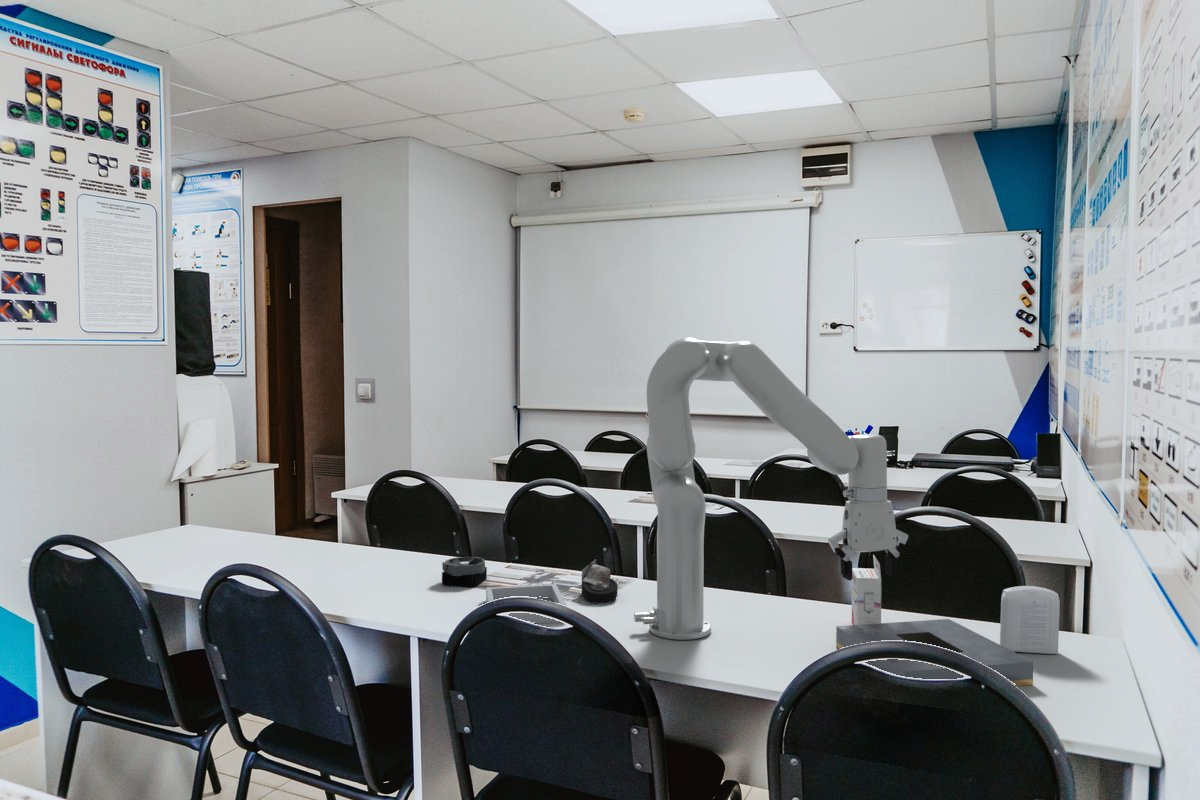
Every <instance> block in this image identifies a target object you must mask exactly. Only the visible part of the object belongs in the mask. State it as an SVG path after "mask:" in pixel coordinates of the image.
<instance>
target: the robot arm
mask: <svg viewBox="0 0 1200 800" xmlns="http://www.w3.org/2000/svg"><path fill="white" fill-rule="evenodd" d="M696 380H697V381H709V382H710V381H711V382H712V381H713V382H733V383H734V384H735V385H736V386H737V388H738V389H740V390H741V391H742V392H743V393H744V394H745V395H746V396H747V398H748V399H750V401H751V402H752V403H753V404H754V405H755V406H756V407H757V408H758V409H759V410H760V411H761V412H762V413H763V414H764V415H765V416H766V417H767V418H768V419H769V420H770V421H771V422H772V423H773V424H775V425H776V426H778V427H780V428H782V429H783V430H785V431H786V432H788V433H789V434H790V435H791V436H793V437H794V438H796V439H797V440H798V442H800V443H801V444H803V446H804V447H805V448H806V452H807V453H806V454H807V458H808V459H809V461H810V462H811V464H812V465H813V466H815V467H816V468H818V469H820V470H822V471H825V472H828V473H830V474H832V475H836V476H843V475H844V476H845V475H846V474H848V485H847V489H846V490H843V492H842V495H843V497H844V498H847V499H848V500H846V501H845V504H844V505H845V506H844V510H843V517H842V530H841V531H839V532H837V533H836V534H834V535H832V536H831V537H830V538H828V540H827V542H828V543H829V546H830V548H831V550H832V552H833V553H834V554H835V555H836V556H837V557H838V558H839V559H840V575H841V577H842V578H843V579H845V580H846V581H852V568H853V561H852V560H850V559H851V558H852V557H853V555H854V554H855V552H856V553H869V552H883V551H885V553H886V554H884V573H885V574H886V575H888V576H890V577H893V578H894V577H896V576H897V571H898V557H900V554H901V552H902V551H903V550H904V548H905V545H906V544H907V541H908V539H909V535H908V534H907V533H905V532H904V531H901V530H899V529H897V528H896V527H897V526H896V518H895V517H896V516H895V514H894V513H895V512H894V508H893V504H892V501H891V500H890V499H889V500H888V467H887V466H888V463H887V462H888V460H887V458H888V457H887V456H888V455H887V454H888V453H887V440H886V439H885V437H884V436H883V435H881V434H874V433H873V434H870V433H861V434H855V435H847V434H846V433H845V431H844V430H843V429H842V428H841V427H840V426H839V425H838V424H837V423H836V422H835V421H834V419H832V418H831V417H830V416H829V415H828V414H827V413H825V411H823V410H822V409H821V408H820V407H819V406H818V405H817V404H816V403H814V401H812V399H810V398H809V397H808V396H807V395H806V394H805V393H804V392H802V391H801V389H800V388H798V387H797V385H796V384H794V383H793V382H792V381H791V380H790V378H789V377H788V376H787V375H785V373H784V372H783V371H782V370H781V369H780V368H779V367H778V366H777V365H776V364H775V363H774V361H773V360H772V359H771V358H770V357H769V356H768V355H767V354H766V353H765V352H764V351H763V350H762V349H761V348H760V347H759V346H757V345H756V344H755V343H753V342H751V341H748V340H747V341H746V340H740V341H731V342H729V341H728V342H727V341H724V342H723V341H708V340H707V341H706V340H699V339H697V338H694V337H684V338H683V337H682V338H680V339H678V340H675V341H673V342H672V343H669V345H668V346H667V348H666V349H665V351H664V352H662V354H661V355H660V356H659V357H658V358H657V359H656V361H655V363H654V365H653V367H652V368H651V371H650V372H649V376H648V379H647V383H646V384H647V385H646V404H647V418H648V426H649V434H648V437H647V440H646V453H647V461H648V469H649V476H650V483H651V490H652V497H653V501H654V503H655V505H656V507H657V528H656V605H653V606H652V610H649V611H648V612H634V614H633V619H634V620H633V621H634V623H642V624H643V625H649V631H650V633H652V634H653V635H655V636H657V637H659V638H664V639H670V640H677V641H684V640H685V641H687V640H688V641H689V640H697V639H701V638H704V637H706V636H708V635H710V634H711V632H712V625H711V624H710V623H709V622H708V621H707V620H705V619H704V591H705V590H704V586H705V585H704V568H705V567H704V565H705V563H704V562H705V561H704V548H705V547H704V543H705V542H704V541H705V540H704V539H705V525H706V523H705V522H706V510H707V509H706V506H707V505H706V499H705V494H704V492H703V491H702V489H701V487H700V485H699V484H698V483H696V480H695V479H696V477H695V471H694V470H695V469H694V464H693V461H694V458H695V455H696V442H695V438H694V437H695V436H694V434H693V425H692V420H691V413H690V412H691V411H690V402H689V401H690V400H689V399H690V398H689V396H690V394H689V393H690V389H691V385H693V382H694V381H696ZM840 542H842V548H841V547H840V546H839V543H840Z"/></svg>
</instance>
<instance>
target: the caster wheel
mask: <svg viewBox="0 0 1200 800" xmlns="http://www.w3.org/2000/svg"><path fill="white" fill-rule="evenodd" d="M618 585H619V584H618V583H617V582H616V581H615V580H614V579H613V578H611V569H610V568H608V567H605V566H602V565H599V564H597V559H596V558H595V559H594V560H593V561H592V562H590V563H589V564H587V565H586V566H585V567H584V568H583V569H581V585H580V586H581V595H582V597H583V599H584V600H586V601H587V602H590V603H593V604H607V603H611V602H613V601H614V600H616V598H618V587H619V586H618Z"/></svg>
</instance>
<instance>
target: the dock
mask: <svg viewBox="0 0 1200 800" xmlns="http://www.w3.org/2000/svg"><path fill="white" fill-rule="evenodd" d="M835 631H836V633H835V637H836V638H835V639H836V640H835V641H836V642H835V643H836V644H835V645H836V648H838V649H839V648H842V647H846V646H850V645H854V644H860V643H866V642H871V641H881V640H903V641H905V640H907V641H916V642H922V643H927V644H932V645H936V646H940V647H943V648H947V649H950V650H953V651H956V652H958V653H961V654H963V655H966V656H968V657H970V658H972V659H974V660H976V661H978V662H981V663H982V664H984V665H986V666H988V667H990V668H992V669H993V670H996V671H997V672H999V673H1000V674H1002V675H1003V676H1005V677H1006V678H1007V679H1009V680H1010V681H1012V682H1013V683H1015V684H1016V685H1018V686H1017V687H1023V686H1033V685H1034V661H1033V660H1031V659H1029V658H1028V657H1027V658H1026V657H1025V656H1023V655H1022V654H1019V653H1017V652H1014V651H1011V650H1009V649H1007V648H1005V647H1003V646H1001V645H1000V643H997V642H995V641H993V640H992V639H989V638H987V637H985V636H984V635H982V634H980V633H977V632H976V631H973V630H971V629H969V628H968V627H966V626H964V625H961V624H960V623H957V622H956V621H954V620H952V619H951V618H950V619H949V618H943V619H941V618H940V619H929V620H928V619H927V620H913V621H912V620H911V621H900V622H899V621H898V622H897V621H895V622H883V623H882V622H881V623H879V624H864V625H853V624H851V625H836V630H835ZM865 663H867V664H869V665H872V666H875V667H877V668H879V669H881V670H884V671H887V672H890V673H893V674H896V675H900V676H905V677H913V678H922V679H957V678H963V677H964V676H963V675H960V674H958V673H956V672H954V671H951V670H949V669H947V668H943V667H940V666H936V665H933V664H928V663H924V662H918V661H910V660H898V659H887V660H876V661H868V662H865Z"/></svg>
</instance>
